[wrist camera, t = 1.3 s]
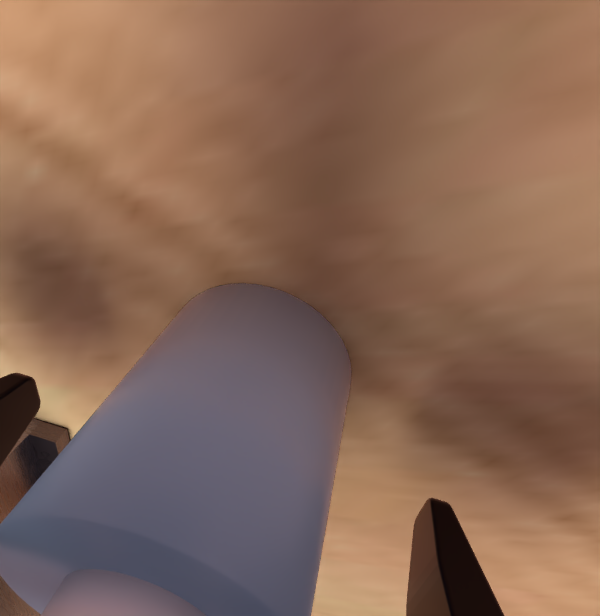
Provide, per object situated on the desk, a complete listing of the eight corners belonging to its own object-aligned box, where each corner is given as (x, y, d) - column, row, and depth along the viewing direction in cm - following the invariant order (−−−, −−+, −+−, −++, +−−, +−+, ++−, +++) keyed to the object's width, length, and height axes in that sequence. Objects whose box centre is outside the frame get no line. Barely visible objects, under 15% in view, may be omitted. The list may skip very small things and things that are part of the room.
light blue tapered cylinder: (329, 449, 13) (261, 798, 7) (171, 402, 13) (-19, 694, 7) (374, 314, 10) (322, 715, 4) (170, 261, 10) (-141, 552, 4)
